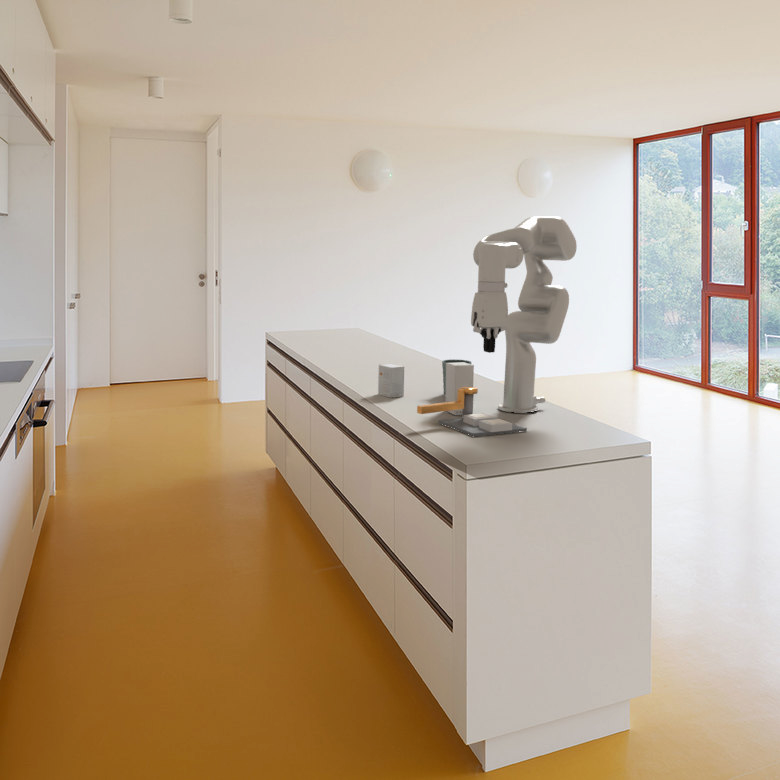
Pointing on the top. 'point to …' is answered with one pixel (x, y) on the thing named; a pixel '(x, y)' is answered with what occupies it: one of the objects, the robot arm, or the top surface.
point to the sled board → (476, 428)
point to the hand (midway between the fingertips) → (489, 351)
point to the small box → (391, 380)
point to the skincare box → (457, 381)
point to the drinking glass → (445, 370)
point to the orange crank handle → (448, 405)
